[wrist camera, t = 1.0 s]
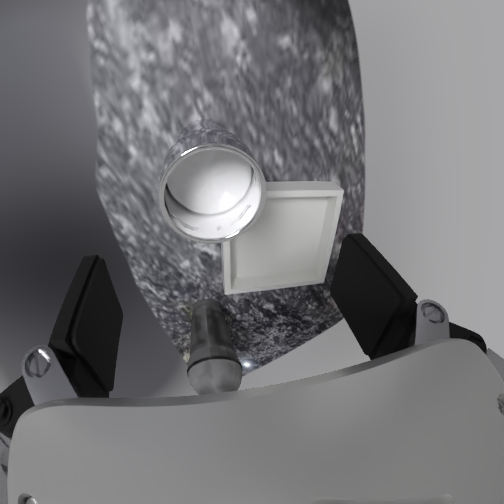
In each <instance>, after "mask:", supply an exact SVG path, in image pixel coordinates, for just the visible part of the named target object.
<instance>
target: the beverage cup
mask: <svg viewBox="0 0 504 504" xmlns="http://www.w3.org/2000/svg"><path fill="white" fill-rule="evenodd" d="M187 374H188V377H189V380H190V383H191V385H192V387H193V389H194V390H195V391H196V392H197V393H198V394H199V395H205V394H215V393H223V392H231V391H237V390H238V388H239V386H240V384H241V379H242V365H241V363H240V362H239V359H238V357H237V355H236V353H235V351H234V348H233V345H232V341H231V338H230V335H229V331H228V328H227V325H226V321H225V318H224V314H223V312H222V310H221V306H220V304H219V303H218V302H216V301H214V300H210V299H204V300H201V301H199V302H197V303H196V304H195V305H194V307H193V313H192V324H191V347H190V358H189V363H188V369H187Z"/></svg>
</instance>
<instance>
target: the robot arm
mask: <svg viewBox="0 0 504 504" xmlns="http://www.w3.org/2000/svg"><path fill="white" fill-rule="evenodd" d="M330 292H331V296H332V298H333V299H334V301H335V303H336V304H337V306H338V308H339V309H340V311H341V313H342V315H343V316H344V318H345V320H346V322H347V323H348V325H349V327H350V329H351V330H352V332H353V334H354V336H355V337H356V339H357V341H358V343H359V345H360V346H361V348H362V350H363V352H364V353H365V354H366V355H368V356H369V357H370V359H371V361H368V362H364V363H361V364H358V365H354V366H351V367H348V368H344V369H340V370H337V371H333V372H329V373H325V374H321V375H318V376H313V377H309V378H305V379H300V380H296V381H291V382H286V383H281V384H276V385H270V386H264V387H259V388H252V389H246V390H240V391H231V392H223V393H215V394H205V395H194V396H180V397H160V398H109V391H112V390H113V387H114V377H115V368H116V360H117V352H118V345H119V338H120V332H121V326H122V320H123V313H122V309H121V306H120V303H119V301H118V298H117V296H116V293H115V290H114V287H113V285H112V282H111V279H110V276H109V273H108V270H107V267H106V264H105V261H104V259H100V257H99V256H98V255H93V256H84V257H83V259H82V261H81V263H80V265H79V267H78V270H77V272H76V274H75V276H74V278H73V281H72V283H71V285H70V287H69V290H68V292H67V295H66V297H65V300H64V302H63V305H62V307H61V310H60V312H59V315H58V318H57V321H56V323H55V326H54V329H53V332H52V335H51V338H50V341H49V344H48V347H47V346H43V345H41V346H36V347H35V348H32V349H31V350H30V351H29V352H28V353H27V354H26V355H25V357H24V359H23V361H22V368H21V369H22V374H23V375H22V376H21V377H20V378H19V379H17V380H16V381H15V382H14V383H12V384H11V385H10V386H9V387H8V388H7V389H5V390H4V391H3V392H2V393H0V504H504V359H503V358H501V357H500V356H499V355H497V354H496V353H495V352H493V351H492V350H491V349H489V348H488V349H487V348H486V344H485V342H484V340H483V338H482V337H481V336H480V335H479V334H477V333H475V332H473V331H471V330H468V329H466V328H463V327H460V326H458V325H456V324H453V323H451V322H449V319H448V314H447V312H446V310H445V309H444V308H443V307H442V306H441V305H440V304H439V303H437V302H435V301H432V300H422V301H420V302H419V303H418V304H417V303H416V302H415V301H416V299H417V297H418V296H417V295H416V293H415V292H414V291H413V290H412V289H411V287H410V286H409V285H408V284H407V283H406V282H405V280H404V279H403V278H402V277H401V276H400V275H399V273H398V272H397V271H396V270H395V269H394V268H393V267H392V266H391V264H390V263H389V262H388V261H387V260H386V259H385V258H384V257H383V256H382V254H381V253H380V252H379V251H378V250H377V249H376V248H375V247H374V246H373V245H372V244H371V243H370V242H369V241H368V239H367V238H366V237H365V236H364V235H363V234H361V233H356V234H348V235H347V236H346V238H344V239H343V241H342V245H341V249H340V253H339V257H338V261H337V265H336V269H335V273H334V277H333V280H332V284H331V288H330Z"/></svg>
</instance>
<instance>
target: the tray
mask: <svg viewBox="0 0 504 504" xmlns="http://www.w3.org/2000/svg"><path fill="white" fill-rule="evenodd" d="M343 193H344V190H343V189H342V188H340V187H339V186H338V185H337V184H335V183H334V182H321V181H286V182H266V201H265V205H264V208H263V210H262V213H261V214H260V216H259V218H258V219H257V221H256V222H255V223H254V224H253V225H252V226H251V227H250V228H249V229H248V230H247V231H246V232H244V233H243V234H241V235H240V236H238V237H236V238H234V239H231V240H229V241H225V242H221V257H222V281H223V286H224V292H225V295H227V294H237V293H246V292H255V291H264V290H272V289H280V288H288V287H296V286H304V285H311V284H318V283H324V280H325V276H326V272H327V268H328V264H329V259H330V255H331V251H332V247H333V242H334V238H335V233H336V228H337V224H338V219H339V214H340V209H341V204H342V199H343Z"/></svg>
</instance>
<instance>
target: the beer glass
mask: <svg viewBox="0 0 504 504" xmlns="http://www.w3.org/2000/svg"><path fill="white" fill-rule="evenodd" d="M158 200H159V206H160V210H161V213H162V215H163V217H164V219H165V220H166V222H167V223H168V225H169V226H170V227H171V228H172V229H173V230H174V231H175V232H177V233H178V234H179V235H181V236H183V237H184V238H186V239H189V240H191V241H195V242H199V243H208V244H212V243H221V242H225V241H229V240H231V239H234V238H236V237H238V236H240V235H241V234H243V233H244V232H246V231H247V230H248V229H249V228H250V227H251V226H252V225H253V224H254V223H255V222H256V221H257V219H258V218H259V216H260V214H261V213H262V210H263V208H264V205H265V201H266V182H265V178H264V175H263V173H262V171H261V169H260V167H259V166H258V164H257V162H256V160H255V158H254V156H253V154H252V153H251V151H250V150H249V148H248V147H247V146H246V145H245V144H244V143H243V142H242V141H241V140H240V139H239V138H238V137H237V136H235V135H234V134H232V133H230V132H228V131H227V130H226V128H225V127H224V126H223V125H221V124H220V123H218V122H216V121H213V120H208V119H202V120H197V121H194V122H192V123H190V124H188V125H187V126H186V127H185V128H184V129H183V130H182V131H181V133H180V134H179V136H178V139H177V141H176V142H175V143H174V145H173V146H172V147H171V149H170V150H169V152H168V154H167V156H166V158H165V160H164V163H163V167H162V171H161V177H160V185H159V192H158Z"/></svg>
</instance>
